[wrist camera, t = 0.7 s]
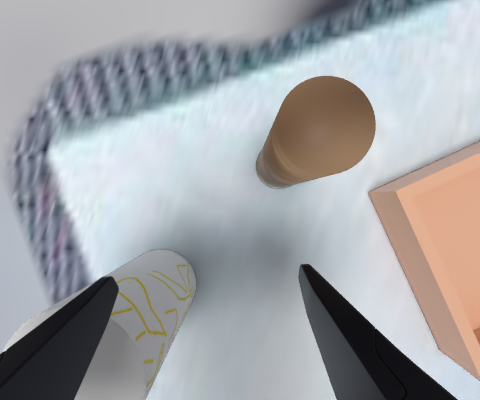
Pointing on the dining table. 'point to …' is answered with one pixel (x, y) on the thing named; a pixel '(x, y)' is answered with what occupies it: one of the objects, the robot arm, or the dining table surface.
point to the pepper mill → (317, 133)
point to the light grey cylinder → (133, 326)
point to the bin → (440, 247)
